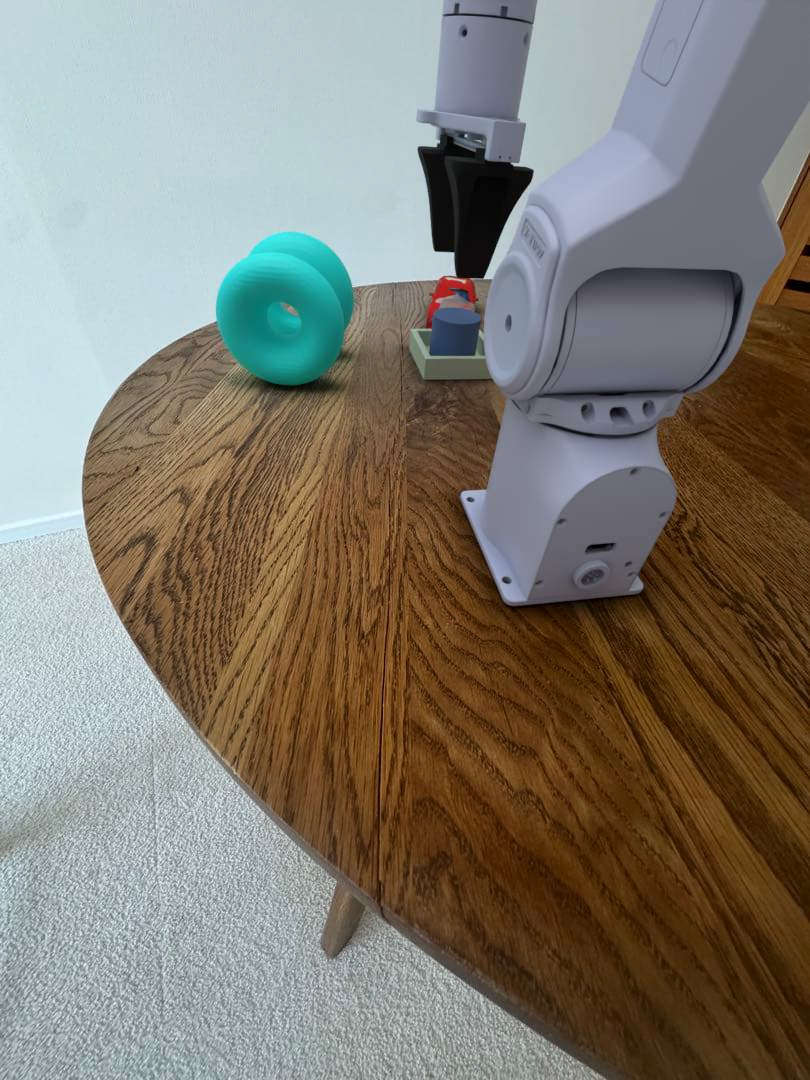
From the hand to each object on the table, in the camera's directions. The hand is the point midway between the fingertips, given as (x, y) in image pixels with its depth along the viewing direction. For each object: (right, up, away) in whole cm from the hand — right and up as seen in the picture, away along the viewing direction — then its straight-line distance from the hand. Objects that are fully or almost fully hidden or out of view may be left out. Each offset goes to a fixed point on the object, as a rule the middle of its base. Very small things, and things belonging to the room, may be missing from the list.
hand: (456, 263), depth 40 cm
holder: (0, -5, +8) cm, 10 cm away
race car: (+1, +3, +18) cm, 18 cm away
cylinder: (0, -5, +8) cm, 9 cm away
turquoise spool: (-14, -7, +5) cm, 17 cm away
